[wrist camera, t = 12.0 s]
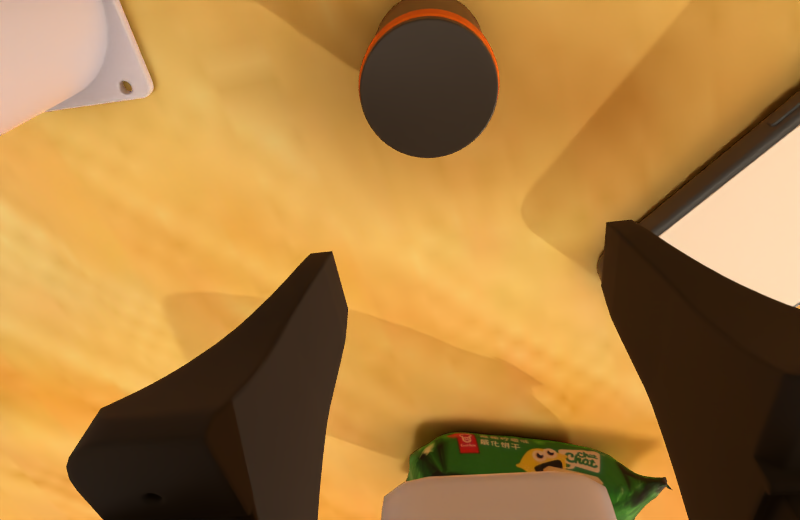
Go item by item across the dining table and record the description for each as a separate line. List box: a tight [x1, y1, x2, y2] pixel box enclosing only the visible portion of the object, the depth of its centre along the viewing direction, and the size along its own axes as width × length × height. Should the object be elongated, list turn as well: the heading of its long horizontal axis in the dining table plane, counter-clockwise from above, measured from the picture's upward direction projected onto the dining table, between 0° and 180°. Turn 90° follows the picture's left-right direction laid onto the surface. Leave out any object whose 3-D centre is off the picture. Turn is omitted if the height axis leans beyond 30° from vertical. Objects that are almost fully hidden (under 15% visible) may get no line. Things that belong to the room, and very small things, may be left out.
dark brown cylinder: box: [359, 0, 499, 158], centre depth 18 cm, size 4×4×5 cm
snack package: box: [406, 432, 672, 520], centre depth 32 cm, size 7×16×5 cm, turn 84°
